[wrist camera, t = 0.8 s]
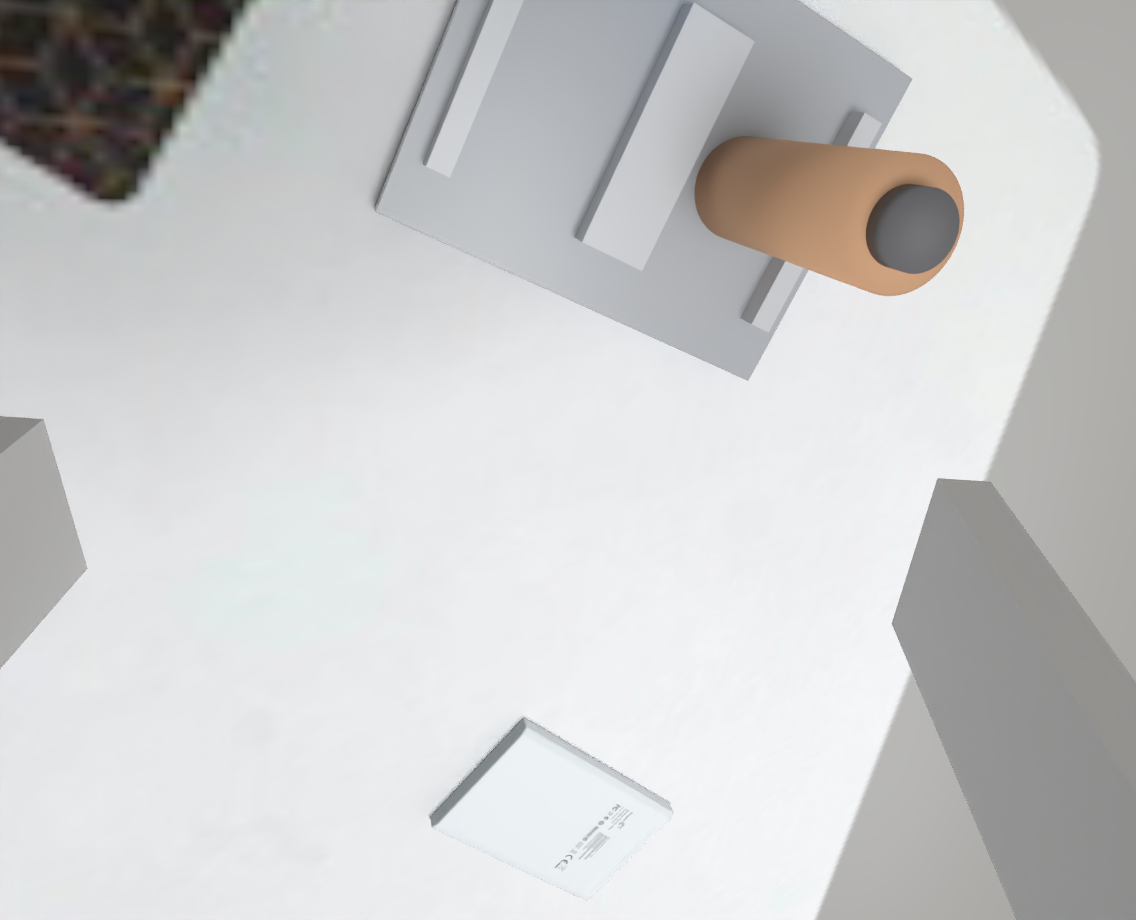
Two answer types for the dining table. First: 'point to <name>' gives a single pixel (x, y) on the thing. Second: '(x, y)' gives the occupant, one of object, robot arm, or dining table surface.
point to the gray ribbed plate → (628, 150)
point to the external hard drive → (552, 811)
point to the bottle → (835, 209)
